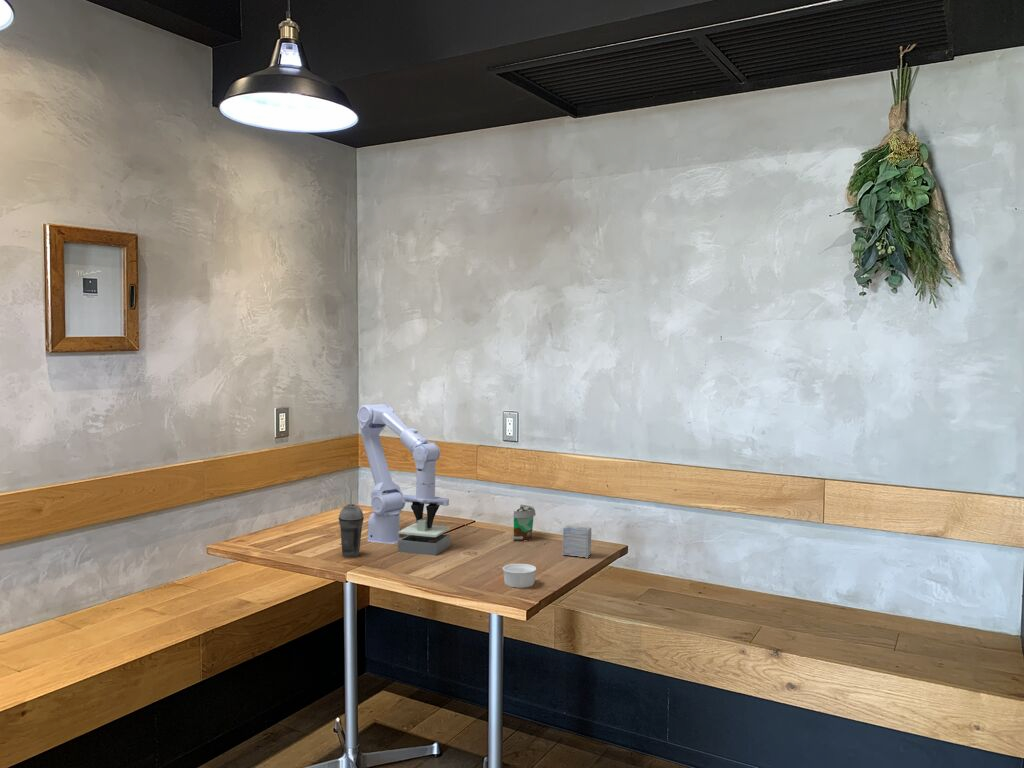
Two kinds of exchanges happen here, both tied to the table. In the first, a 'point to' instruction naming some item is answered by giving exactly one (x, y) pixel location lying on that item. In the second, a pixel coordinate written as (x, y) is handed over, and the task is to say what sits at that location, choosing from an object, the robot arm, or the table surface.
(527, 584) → the ramekin
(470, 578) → the table surface
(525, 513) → the food container
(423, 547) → the storage box
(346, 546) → the beverage cup
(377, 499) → the robot arm
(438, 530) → the lid
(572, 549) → the medicine box
